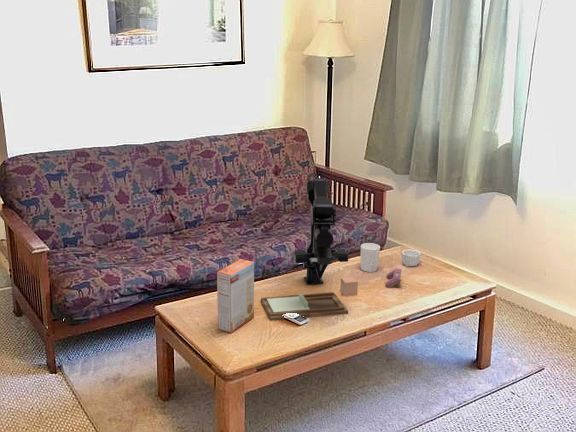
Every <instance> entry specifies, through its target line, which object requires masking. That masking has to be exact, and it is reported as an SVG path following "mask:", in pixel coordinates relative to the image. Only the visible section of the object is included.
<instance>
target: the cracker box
mask: <svg viewBox="0 0 576 432" xmlns="http://www.w3.org/2000/svg"><path fill="white" fill-rule="evenodd" d="M216 287H217V288H216V289H217V292H216V293H217V329H218V330H220V331H223V332H227V333H231V334H233V333H234V332H235V331H237V330H238V329H240V328H241V327H242V326H244V325H246V323H248V322H249V321H251V320H252V319H253V318H255V262H254V261H251V260H247V259H243V258H239V259H238V260H236V261H234V262H233V263H231V264H229V265H228V266H226V267H224V268H222V269H220V270H218V271H216Z"/></svg>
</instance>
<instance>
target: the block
mask: <svg viewBox="0 0 576 432" xmlns="http://www.w3.org/2000/svg"><path fill="white" fill-rule="evenodd" d="M358 283H359V282H358V280H357V279H356V278H355V277H354V276H344V277H343V276H342V277H340V285H339V286H340V290H339V291H340V293H341V294H342V295H343V297H348V296H350V297H351V296H358V287H359V285H358Z"/></svg>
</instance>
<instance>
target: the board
mask: <svg viewBox="0 0 576 432" xmlns="http://www.w3.org/2000/svg"><path fill="white" fill-rule="evenodd" d="M302 294H303V293H302ZM297 296H299V294H293V295H292V294H291V295H281V296H280V295H279V296H268V297H267V296H266V297H261V298H260V302H261V304H262V306H263V308H264V310H265V312H266V315H267V316H268V318H269V321H280V320H281V319H282V320H285V319H284V316H282V315H283V314H286V313H297V314H299V315H301V316H304V317H305V318H314V317H315V318H316V317H326V316H336V315H337V316H339V315H348V314H349V311H348V309H347V308H346V306H345V305H344V303H343V302H342V301H341V300H340V298H339V297H338V296H337V294H336V293H335V292H333V291H330V292H316V293H305V294H303V296H304V297H305V299H306V300H307V302H308V307H309V309H310V310H298V311H286V312H274V313H273V312H272V310H271V308H270V306H269V304H268V302H267V299H271V298H284V297H297Z"/></svg>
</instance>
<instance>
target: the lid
mask: <svg viewBox="0 0 576 432" xmlns="http://www.w3.org/2000/svg"><path fill="white" fill-rule="evenodd" d="M298 295H299V296H297V297H284V298H271V299H267V302H268V304H269V306H270V308H271V310H272V312H273V313H274V312H286V311H298V310H310V309H309V307H308V302H307V300H306V299H305V297H304V296H303V293H299V294H298Z"/></svg>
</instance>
